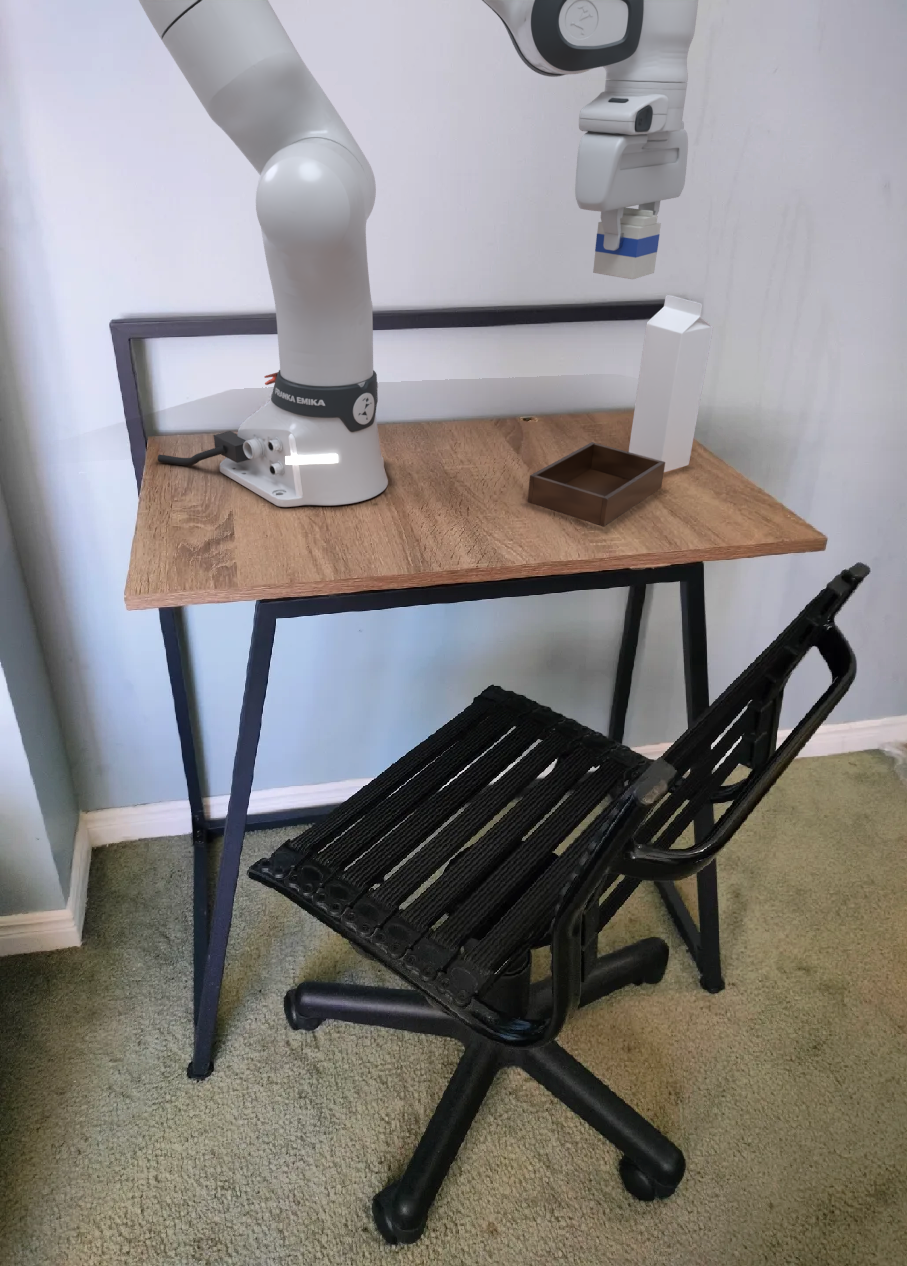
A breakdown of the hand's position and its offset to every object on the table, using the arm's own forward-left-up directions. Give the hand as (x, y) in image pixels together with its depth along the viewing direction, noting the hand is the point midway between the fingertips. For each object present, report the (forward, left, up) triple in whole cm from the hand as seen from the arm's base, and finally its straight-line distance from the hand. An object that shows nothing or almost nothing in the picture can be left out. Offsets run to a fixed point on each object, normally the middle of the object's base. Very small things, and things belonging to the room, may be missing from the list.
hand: (626, 245), depth 109 cm
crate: (+4, -9, -28) cm, 30 cm away
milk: (+5, +7, -29) cm, 30 cm away
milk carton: (0, 0, -3) cm, 3 cm away
